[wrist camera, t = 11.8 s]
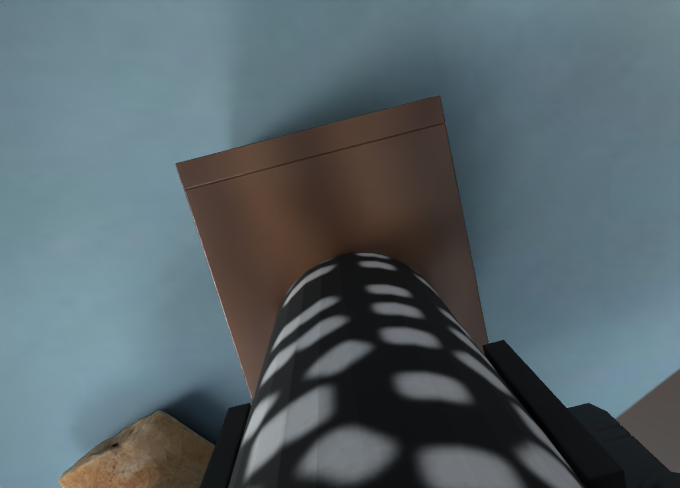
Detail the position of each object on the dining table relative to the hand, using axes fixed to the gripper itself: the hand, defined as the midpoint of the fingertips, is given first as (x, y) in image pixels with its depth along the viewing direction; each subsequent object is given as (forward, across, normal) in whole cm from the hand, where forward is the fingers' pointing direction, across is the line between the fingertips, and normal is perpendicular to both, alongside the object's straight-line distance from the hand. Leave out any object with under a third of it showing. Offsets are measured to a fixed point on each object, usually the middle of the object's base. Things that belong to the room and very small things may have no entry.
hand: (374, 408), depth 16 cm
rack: (+18, 0, 0) cm, 18 cm away
